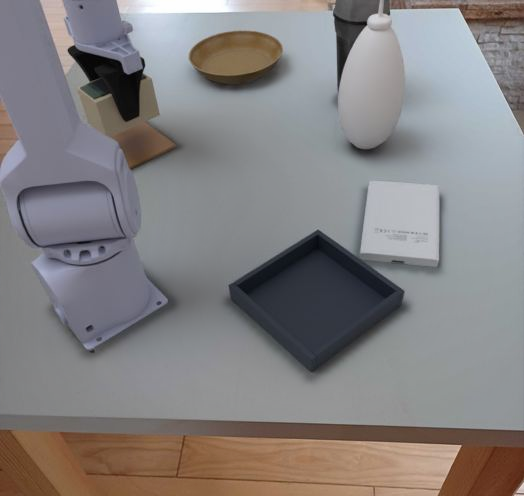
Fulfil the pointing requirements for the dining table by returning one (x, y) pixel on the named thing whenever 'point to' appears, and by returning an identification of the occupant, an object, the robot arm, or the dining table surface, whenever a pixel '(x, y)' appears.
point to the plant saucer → (236, 56)
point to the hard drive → (401, 223)
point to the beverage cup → (352, 25)
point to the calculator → (105, 110)
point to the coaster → (142, 144)
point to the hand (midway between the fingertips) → (120, 110)
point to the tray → (315, 298)
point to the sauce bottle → (372, 84)
